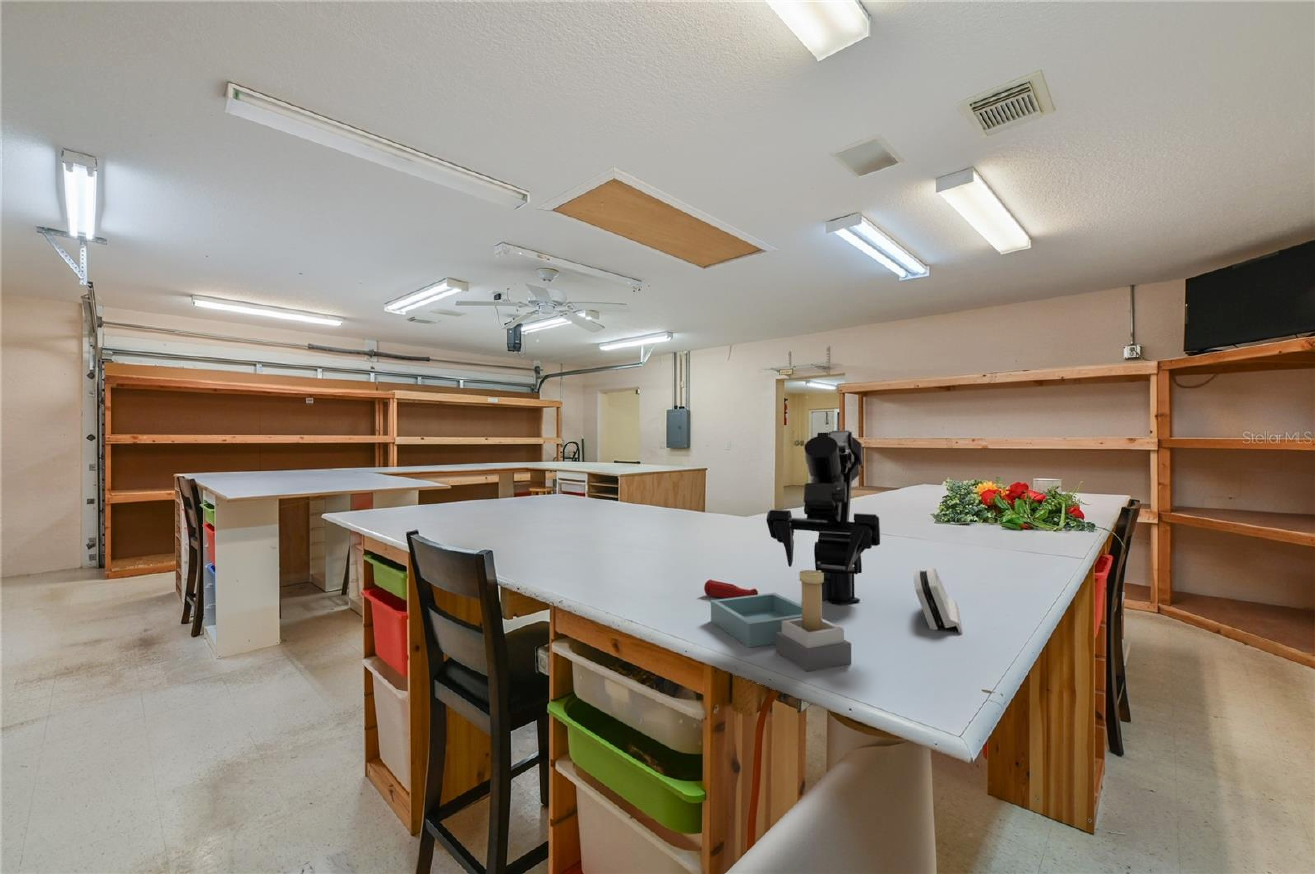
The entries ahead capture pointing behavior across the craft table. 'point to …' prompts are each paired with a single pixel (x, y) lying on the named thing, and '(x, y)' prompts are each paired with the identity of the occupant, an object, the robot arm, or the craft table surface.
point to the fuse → (811, 599)
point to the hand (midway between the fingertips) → (817, 567)
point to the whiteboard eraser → (936, 600)
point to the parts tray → (754, 617)
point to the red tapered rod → (726, 590)
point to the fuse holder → (813, 645)
